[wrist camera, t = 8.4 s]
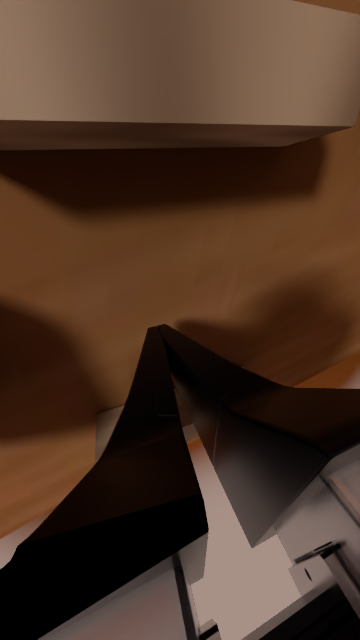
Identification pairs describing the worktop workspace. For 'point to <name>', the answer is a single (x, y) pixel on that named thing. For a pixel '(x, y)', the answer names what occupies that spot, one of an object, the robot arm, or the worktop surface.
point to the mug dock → (174, 81)
